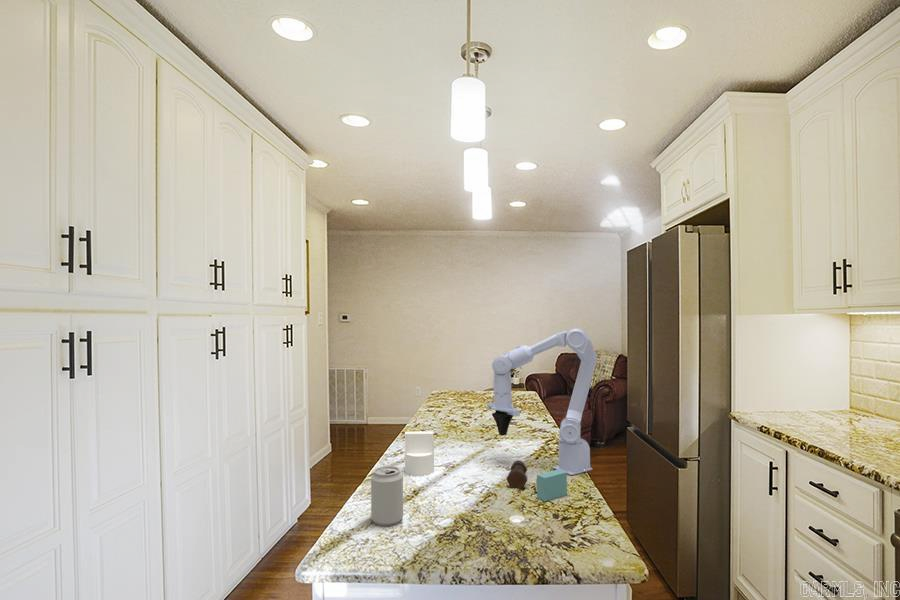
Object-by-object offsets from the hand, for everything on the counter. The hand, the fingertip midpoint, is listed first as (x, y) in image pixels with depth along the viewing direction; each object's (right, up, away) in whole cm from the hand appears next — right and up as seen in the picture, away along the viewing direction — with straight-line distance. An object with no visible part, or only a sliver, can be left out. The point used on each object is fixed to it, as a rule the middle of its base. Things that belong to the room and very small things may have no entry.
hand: (502, 434), depth 151 cm
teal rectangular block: (+9, -9, -26) cm, 29 cm away
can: (-32, -9, -41) cm, 53 cm away
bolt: (+3, -10, -14) cm, 17 cm away
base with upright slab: (-27, -10, -7) cm, 29 cm away
